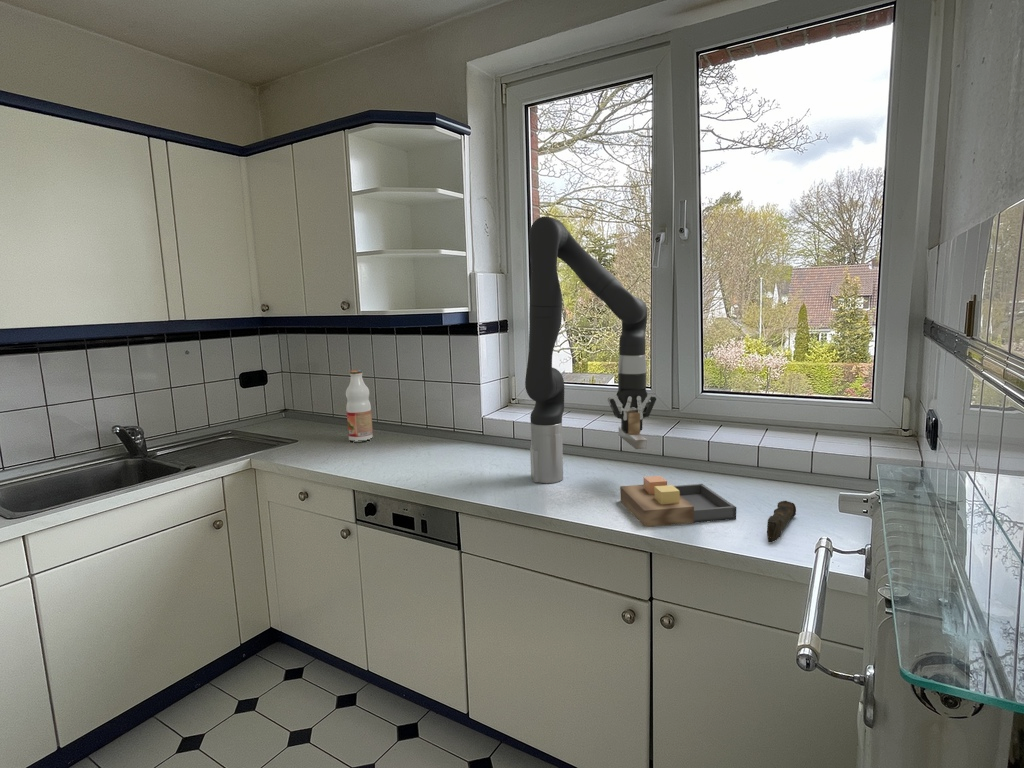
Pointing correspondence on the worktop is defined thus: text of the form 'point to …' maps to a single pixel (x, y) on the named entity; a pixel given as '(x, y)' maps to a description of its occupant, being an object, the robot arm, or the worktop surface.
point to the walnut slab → (655, 508)
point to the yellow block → (666, 494)
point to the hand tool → (780, 519)
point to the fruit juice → (358, 408)
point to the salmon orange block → (653, 483)
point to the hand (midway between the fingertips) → (631, 432)
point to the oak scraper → (634, 431)
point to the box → (707, 503)
